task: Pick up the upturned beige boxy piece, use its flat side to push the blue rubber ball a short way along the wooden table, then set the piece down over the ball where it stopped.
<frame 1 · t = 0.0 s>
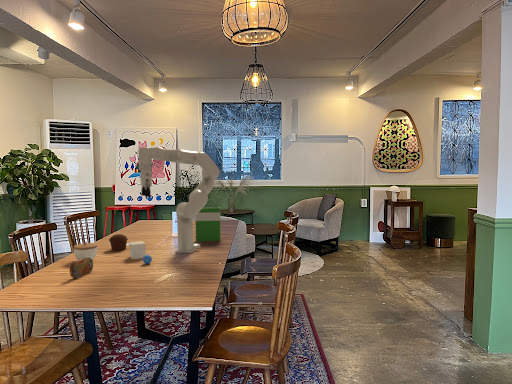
hand: (146, 196, 226), 37 cm above the table, tool pointing down, fingers open, 9 cm apart
beige boxy piece: (137, 257, 225), on the table
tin: (81, 276, 188), on the table
hardback book: (208, 240, 276), on the table
lidded bowl: (86, 261, 218), on the table
muffin: (118, 249, 246), on the table
ball: (147, 259, 210), on the table
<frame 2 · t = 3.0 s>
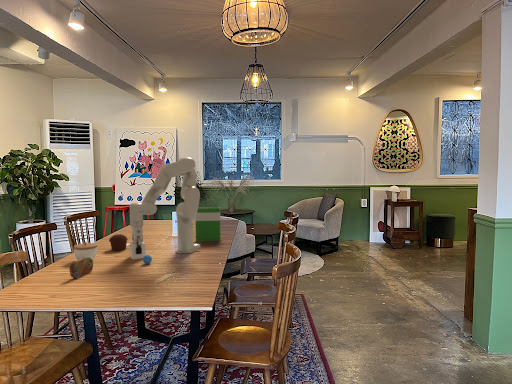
hand: (137, 252, 224), 3 cm above the table, tool pointing down, fingers closed on beige boxy piece, 7 cm apart
beige boxy piece: (137, 257, 225), on the table, touching gripper
everything else where it was.
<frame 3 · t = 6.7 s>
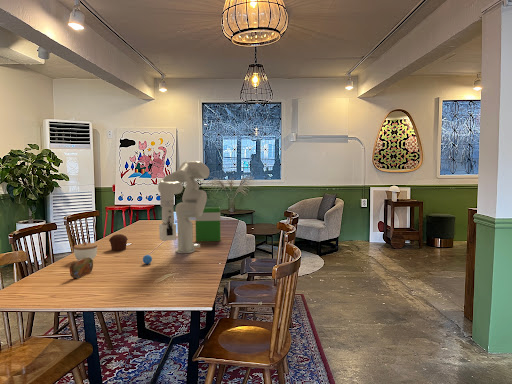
hand: (167, 234, 214), 16 cm above the table, tool pointing down, fingers closed on beige boxy piece, 7 cm apart
beige boxy piece: (167, 239, 214), point 13 cm above the table, touching gripper
everything else where it was.
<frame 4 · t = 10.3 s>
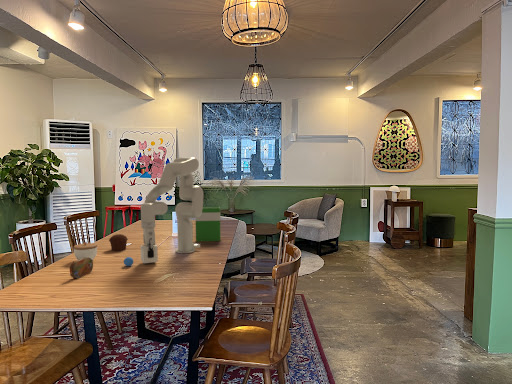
hand: (149, 255, 210), 4 cm above the table, tool pointing down, fingers closed on beige boxy piece, 7 cm apart
beige boxy piece: (149, 260, 210), point 1 cm above the table, touching gripper
ball: (128, 261, 205), on the table
everything else where it was.
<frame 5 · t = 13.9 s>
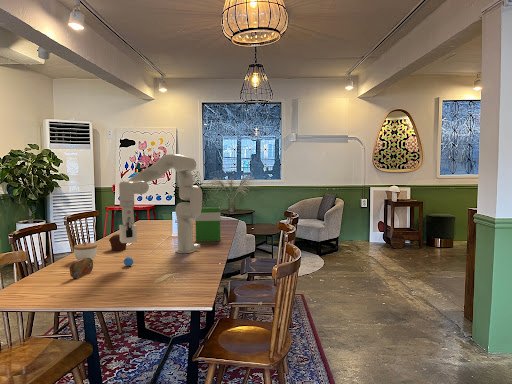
hand: (128, 235, 204), 17 cm above the table, tool pointing down, fingers closed on beige boxy piece, 7 cm apart
beige boxy piece: (128, 241, 204), point 14 cm above the table, touching gripper
everything else where it was.
when the fingers open (3 cm above the table, at t = 17.0 s): beige boxy piece stays where it is, on the table.
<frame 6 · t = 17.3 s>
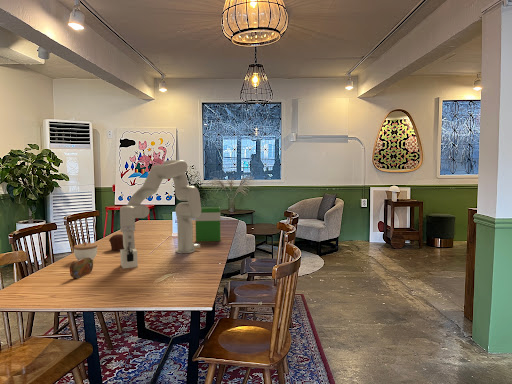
hand: (128, 259, 205), 4 cm above the table, tool pointing down, fingers open, 9 cm apart
beige boxy piece: (129, 266, 205), on the table
everything else where it was.
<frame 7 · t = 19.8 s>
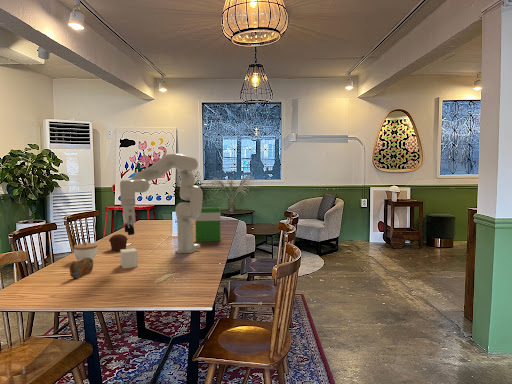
hand: (129, 233, 206), 18 cm above the table, tool pointing down, fingers open, 9 cm apart
nothing on the table moved.
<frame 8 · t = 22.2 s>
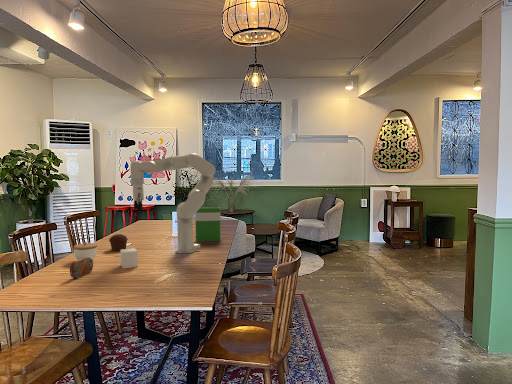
hand: (138, 209, 228), 28 cm above the table, tool pointing down, fingers open, 9 cm apart
nothing on the table moved.
at the end: ball 0.2 cm from the beige boxy piece (horizontally); beige boxy piece on the table; ball moved 10.1 cm from its start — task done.
